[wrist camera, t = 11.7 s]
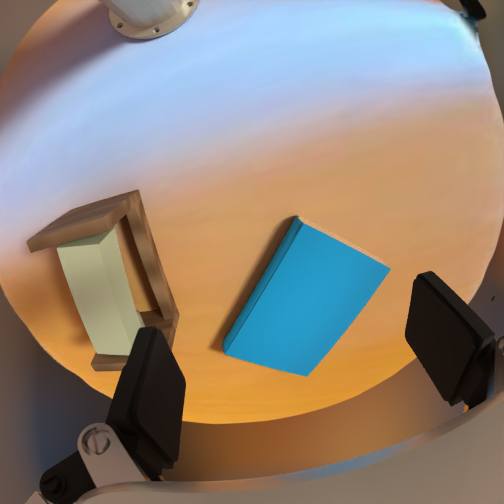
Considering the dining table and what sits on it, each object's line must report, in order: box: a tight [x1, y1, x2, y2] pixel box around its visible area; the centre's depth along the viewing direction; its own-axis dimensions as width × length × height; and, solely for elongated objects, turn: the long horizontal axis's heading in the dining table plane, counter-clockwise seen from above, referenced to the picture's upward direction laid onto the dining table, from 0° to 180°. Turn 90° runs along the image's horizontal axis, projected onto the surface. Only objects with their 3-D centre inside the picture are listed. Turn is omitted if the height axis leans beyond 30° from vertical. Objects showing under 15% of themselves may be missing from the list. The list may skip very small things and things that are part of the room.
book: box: [222, 216, 390, 377], centre depth 45 cm, size 17×4×25 cm
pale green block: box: [57, 228, 141, 355], centre depth 33 cm, size 16×6×5 cm, turn 2°
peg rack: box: [26, 190, 179, 371], centre depth 36 cm, size 21×12×12 cm, turn 10°
